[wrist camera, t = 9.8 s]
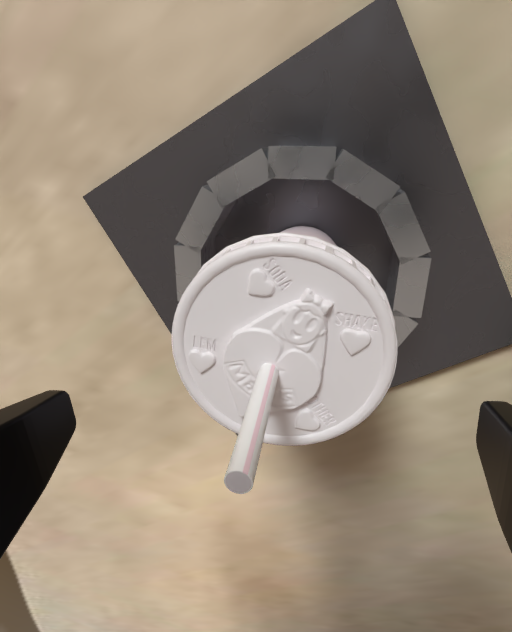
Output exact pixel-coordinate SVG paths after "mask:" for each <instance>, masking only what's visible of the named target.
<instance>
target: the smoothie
mask: <svg viewBox="0 0 512 632" xmlns="http://www.w3.org/2000/svg"><path fill="white" fill-rule="evenodd" d="M172 350H173V356H174V361H175V364H176V367H177V370H178V373H179V375H180V378H181V380H182V382H183V384H184V386H185V387H186V389H187V391H188V392H189V394H190V395H191V397H192V398H193V399H194V400H195V402H196V403H197V404H198V405H199V406H200V407H201V408H202V409H203V410H204V411H205V412H206V413H207V414H208V415H209V416H210V417H211V418H213V419H214V420H215V421H217V422H218V423H219V424H221V425H222V426H224V427H226V428H227V429H229V430H231V431H233V432H235V433H237V434H238V437H237V440H236V443H235V446H234V450H233V453H232V456H231V459H230V462H229V465H228V468H227V471H226V474H225V478H224V483H225V485H226V487H227V488H228V489H229V490H230V491H232V492H234V493H238V494H244V493H247V492H249V491H250V490H251V489H252V487H253V483H254V478H255V474H256V470H257V465H258V461H259V457H260V452H261V448H262V444H263V443H267V444H273V445H283V446H299V445H309V444H315V443H319V442H323V441H327V440H330V439H332V438H335V437H337V436H340V435H342V434H344V433H346V432H348V431H349V430H351V429H353V428H354V427H356V426H357V425H359V424H360V423H361V422H363V421H364V420H365V419H366V418H367V417H368V416H369V415H370V414H371V413H372V412H373V411H374V410H375V409H376V408H377V406H378V405H379V404H380V403H381V401H382V400H383V398H384V396H385V395H386V393H387V391H388V389H389V387H390V385H391V382H392V379H393V376H394V373H395V368H396V363H397V337H396V331H395V319H394V316H393V313H392V310H391V307H390V304H389V301H388V298H387V296H386V293H385V292H384V290H383V289H382V287H381V286H380V285H379V283H378V282H377V280H376V279H375V277H374V276H373V275H372V273H371V272H370V270H369V269H368V268H367V267H365V266H364V265H363V264H362V263H360V262H359V261H358V260H357V259H356V258H354V257H353V256H352V255H351V254H349V253H348V252H347V251H346V250H344V249H342V248H340V247H337V245H336V244H335V243H334V241H333V240H332V239H331V238H330V237H329V236H328V235H327V234H326V233H324V232H323V231H321V230H319V229H317V228H314V227H309V226H295V227H291V228H288V229H286V230H284V231H282V232H280V233H273V234H264V235H256V236H252V237H249V238H247V239H244V240H242V241H239V242H237V243H234V244H232V245H229V246H227V247H225V248H224V249H223V250H222V251H220V252H219V253H218V254H216V255H215V256H214V257H213V258H211V259H210V260H209V261H207V262H206V263H205V264H204V265H203V266H202V268H201V269H200V270H199V272H198V273H197V275H196V276H195V277H194V279H193V280H192V281H191V283H190V284H189V285H188V287H187V288H186V290H185V292H184V293H183V295H182V297H181V299H180V301H179V303H178V306H177V309H176V312H175V315H174V320H173V325H172Z"/></svg>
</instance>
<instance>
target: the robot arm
mask: <svg viewBox="0 0 512 632" xmlns="http://www.w3.org/2000/svg"><path fill="white" fill-rule="evenodd" d="M75 428H76V418H75V415H74V411H73V407H72V404H71V400H70V397H69V395H68V393H67V392H65V391H58V390H49V391H46V392H43V393H41V394H38V395H36V396H33V397H30V398H28V399H25V400H23V401H20V402H18V403H15V404H13V405H10V406H8V407H5V408H3V409H0V559H1V557H2V556H3V554H4V552H5V551H6V549H7V548H8V546H9V545H10V543H11V541H12V540H13V538H14V537H15V535H16V534H17V532H18V530H19V529H20V527H21V526H22V524H23V523H24V521H25V519H26V518H27V516H28V515H29V513H30V512H31V510H32V508H33V507H34V505H35V504H36V502H37V501H38V499H39V497H40V496H41V494H42V492H43V491H44V489H45V487H46V486H47V484H48V482H49V480H50V478H51V476H52V474H53V472H54V470H55V468H56V467H57V465H58V463H59V461H60V459H61V457H62V455H63V453H64V451H65V449H66V447H67V445H68V443H69V441H70V439H71V437H72V435H73V433H74V431H75ZM476 443H477V449H478V452H479V456H480V459H481V463H482V466H483V470H484V473H485V477H486V480H487V484H488V487H489V491H490V494H491V498H492V501H493V505H494V508H495V511H496V514H497V518H498V521H499V523H500V526H501V528H502V531H503V533H504V536H505V538H506V541H507V543H508V545H509V548H510V550H511V552H512V405H511V404H509V403H507V402H502V401H485V402H483V403H482V405H481V407H480V413H479V420H478V427H477V434H476Z"/></svg>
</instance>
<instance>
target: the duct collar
mask: <svg viewBox="0 0 512 632" xmlns="http://www.w3.org/2000/svg"><path fill="white" fill-rule="evenodd" d="M83 198H84V199H85V201H86V203H87V204H88V206H89V207H90V209H91V210H92V212H93V213H94V215H95V216H96V218H97V220H98V221H99V223H100V224H101V226H102V227H103V229H104V230H105V232H106V233H107V235H108V237H109V238H110V240H111V241H112V243H113V244H114V246H115V247H116V249H117V250H118V252H119V254H120V255H121V257H122V258H123V260H124V261H125V263H126V264H127V266H128V267H129V269H130V271H131V272H132V274H133V275H134V277H135V278H136V280H137V281H138V283H139V284H140V286H141V288H142V289H143V291H144V292H145V294H146V295H147V297H148V298H149V300H150V301H151V303H152V305H153V306H154V308H155V309H156V311H157V312H158V314H159V315H160V317H161V319H162V320H163V322H164V323H165V325H166V326H167V328H168V329H169V331H170V332H171V334H172V325H173V320H174V315H175V312H176V309H177V306H178V303H179V301H180V299H181V297H182V295H183V293H184V292H185V290H186V288H187V287H188V285H189V284H190V283H191V281H192V280H193V279H194V277H195V276H196V275H197V273H198V272H199V270H200V269H201V268H202V266H203V265H204V264H205V263H206V262H207V261H209V260H210V259H211V258H213V257H214V256H215V255H216V254H218V253H219V252H220V251H222V250H223V249H224V248H225V247H227V246H229V245H232V244H234V243H237V242H239V241H242V240H244V239H247V238H249V237H252V236H256V235H264V234H273V233H280V232H282V231H284V230H286V229H288V228H291V227H295V226H309V227H314V228H317V229H319V230H321V231H323V232H324V233H326V234H327V235H328V236H329V237H330V238H331V239H332V240H333V241H334V243H335V244H336V245H337V247H340V248H342V249H344V250H346V251H347V252H348V253H349V254H351V255H352V256H353V257H354V258H356V259H357V260H358V261H359V262H360V263H362V264H363V265H364V266H365V267H367V268H368V269H369V270H370V272H371V273H372V275H373V276H374V277H375V279H376V280H377V282H378V283H379V285H380V286H381V287H382V289H383V290H384V292H385V293H386V296H387V298H388V301H389V304H390V307H391V310H392V313H393V316H394V319H395V331H396V337H397V363H396V368H395V373H394V376H393V379H392V382H391V385H390V387H389V388H391V387H394V386H397V385H399V384H402V383H405V382H408V381H410V380H413V379H416V378H419V377H422V376H424V375H427V374H430V373H433V372H435V371H438V370H441V369H444V368H447V367H449V366H452V365H455V364H458V363H460V362H463V361H466V360H469V359H472V358H474V357H477V356H480V355H483V354H485V353H488V352H491V351H494V350H497V349H499V348H502V347H505V346H508V345H510V344H512V298H511V295H510V292H509V290H508V287H507V285H506V282H505V280H504V277H503V274H502V272H501V269H500V267H499V264H498V262H497V259H496V256H495V254H494V251H493V249H492V246H491V244H490V241H489V238H488V236H487V233H486V231H485V228H484V226H483V223H482V220H481V218H480V215H479V213H478V210H477V208H476V205H475V202H474V200H473V197H472V195H471V192H470V190H469V187H468V184H467V182H466V179H465V177H464V174H463V172H462V169H461V166H460V164H459V161H458V159H457V156H456V154H455V151H454V148H453V146H452V143H451V141H450V138H449V136H448V133H447V130H446V128H445V125H444V123H443V120H442V118H441V115H440V112H439V110H438V107H437V105H436V102H435V100H434V97H433V94H432V92H431V89H430V87H429V84H428V82H427V79H426V76H425V74H424V71H423V69H422V66H421V64H420V61H419V58H418V56H417V53H416V51H415V48H414V46H413V43H412V40H411V38H410V35H409V33H408V30H407V28H406V25H405V22H404V20H403V17H402V15H401V12H400V10H399V7H398V4H397V2H396V0H375V1H374V2H372V3H371V4H369V5H368V6H366V7H365V8H363V9H362V10H360V11H359V12H357V13H356V14H354V15H353V16H351V17H350V18H348V19H347V20H345V21H344V22H343V23H341V24H340V25H338V26H337V27H335V28H334V29H332V30H331V31H329V32H328V33H326V34H325V35H323V36H322V37H320V38H319V39H317V40H316V41H314V42H313V43H311V44H310V45H308V46H307V47H305V48H304V49H302V50H301V51H299V52H298V53H296V54H295V55H293V56H292V57H290V58H289V59H287V60H286V61H284V62H283V63H281V64H280V65H278V66H277V67H275V68H274V69H272V70H271V71H269V72H268V73H266V74H265V75H264V76H262V77H261V78H259V79H258V80H256V81H255V82H253V83H252V84H250V85H249V86H247V87H246V88H244V89H243V90H241V91H240V92H238V93H237V94H235V95H234V96H232V97H231V98H229V99H228V100H226V101H225V102H223V103H222V104H220V105H219V106H217V107H216V108H214V109H213V110H211V111H210V112H208V113H207V114H205V115H204V116H202V117H201V118H199V119H198V120H196V121H195V122H193V123H192V124H190V125H189V126H188V127H186V128H185V129H183V130H182V131H180V132H179V133H177V134H176V135H174V136H173V137H171V138H170V139H168V140H167V141H165V142H164V143H162V144H161V145H159V146H158V147H156V148H155V149H153V150H152V151H150V152H149V153H147V154H146V155H144V156H143V157H141V158H140V159H138V160H137V161H135V162H134V163H132V164H131V165H129V166H128V167H126V168H125V169H123V170H122V171H120V172H119V173H117V174H116V175H114V176H113V177H112V178H110V179H109V180H107V181H106V182H104V183H103V184H101V185H100V186H98V187H97V188H95V189H94V190H92V191H91V192H89V193H88V194H86V195H85V196H83ZM236 434H237V433H236ZM237 436H238V434H237Z"/></svg>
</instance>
